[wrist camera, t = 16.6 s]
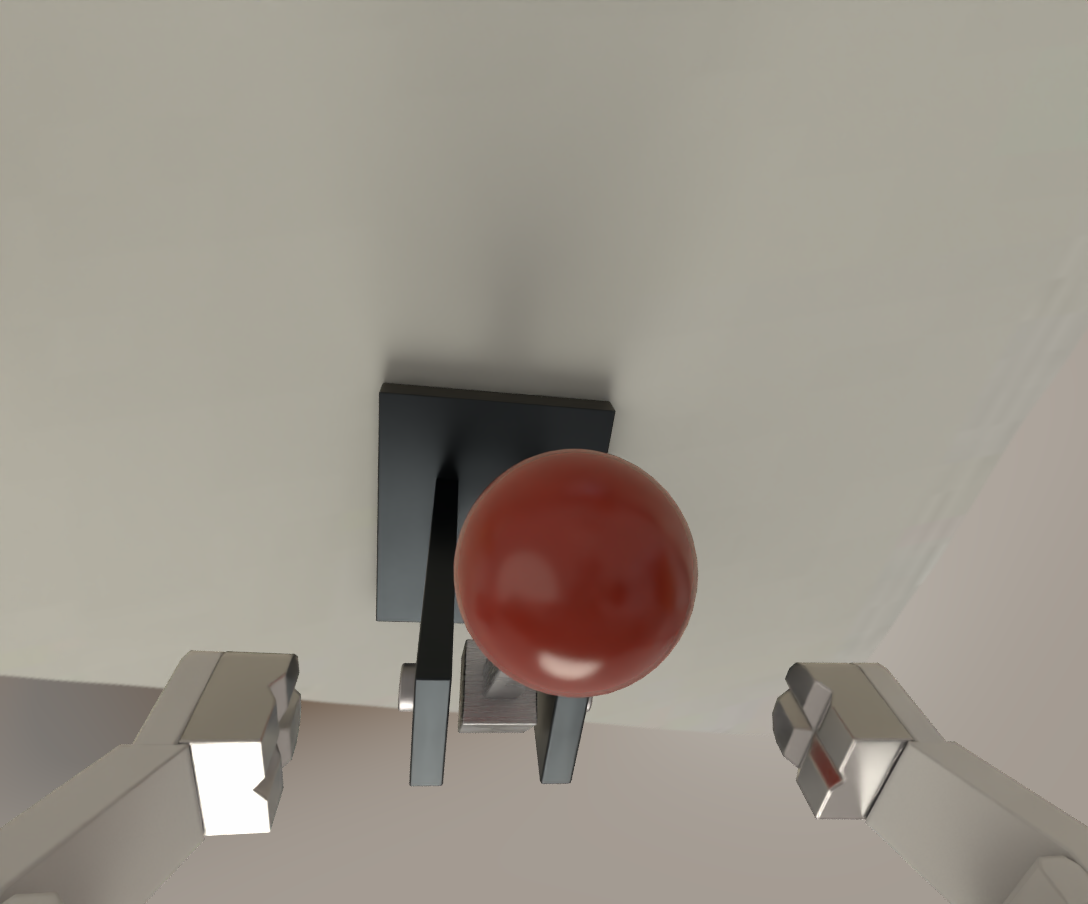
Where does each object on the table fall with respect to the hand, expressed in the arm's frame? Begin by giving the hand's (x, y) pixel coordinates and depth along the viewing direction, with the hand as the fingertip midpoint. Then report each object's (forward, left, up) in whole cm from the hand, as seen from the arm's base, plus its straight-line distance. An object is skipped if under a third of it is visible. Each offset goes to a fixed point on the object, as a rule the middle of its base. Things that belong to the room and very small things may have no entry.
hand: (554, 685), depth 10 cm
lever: (+1, +1, -5) cm, 5 cm away
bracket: (+3, +7, -18) cm, 20 cm away
